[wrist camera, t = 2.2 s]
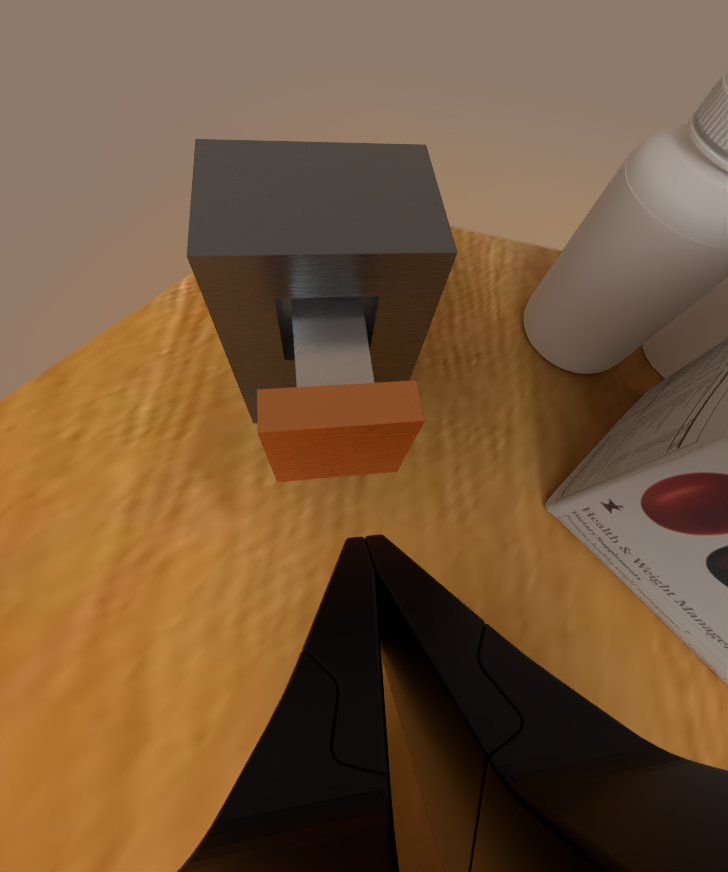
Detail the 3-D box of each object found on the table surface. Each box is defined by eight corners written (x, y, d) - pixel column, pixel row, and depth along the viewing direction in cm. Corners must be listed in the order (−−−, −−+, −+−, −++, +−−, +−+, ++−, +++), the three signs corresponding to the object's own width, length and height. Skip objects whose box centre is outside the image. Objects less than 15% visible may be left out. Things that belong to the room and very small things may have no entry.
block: (396, 413, 25) (457, 252, 13) (253, 423, 24) (186, 256, 12) (383, 337, 27) (425, 144, 16) (252, 342, 26) (195, 139, 15)
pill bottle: (586, 398, 27) (860, 184, 13) (498, 325, 29) (658, 70, 15) (642, 339, 29) (921, 109, 16) (559, 276, 31) (741, 21, 18)
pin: (397, 471, 17) (424, 420, 12) (277, 482, 16) (257, 433, 12) (372, 322, 20) (387, 236, 15) (271, 326, 20) (254, 237, 15)
